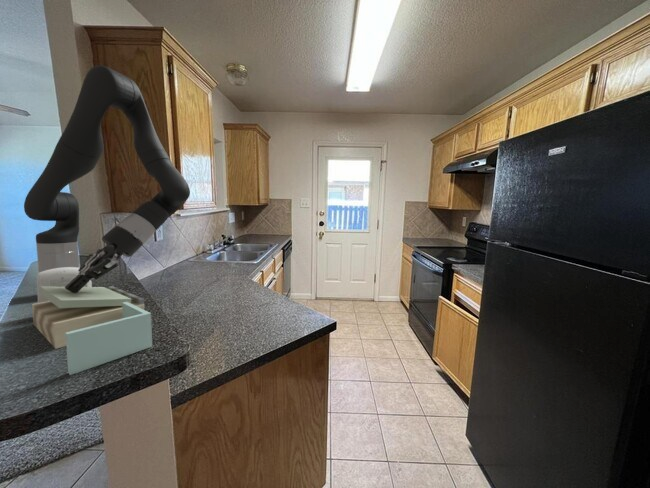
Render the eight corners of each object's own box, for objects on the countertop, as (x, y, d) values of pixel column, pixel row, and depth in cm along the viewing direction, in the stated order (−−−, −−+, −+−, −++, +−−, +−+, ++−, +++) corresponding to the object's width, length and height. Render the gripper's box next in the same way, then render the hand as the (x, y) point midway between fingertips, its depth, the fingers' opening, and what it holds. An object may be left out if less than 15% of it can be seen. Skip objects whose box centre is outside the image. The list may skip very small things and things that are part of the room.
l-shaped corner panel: (128, 334, 59) (126, 301, 58) (152, 349, 52) (150, 313, 51) (52, 356, 49) (49, 317, 48) (70, 378, 42) (67, 334, 42)
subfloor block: (33, 324, 61) (31, 299, 61) (113, 307, 74) (112, 286, 73) (55, 349, 50) (53, 317, 50) (145, 323, 63) (144, 298, 62)
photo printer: (94, 308, 73) (91, 264, 72) (91, 312, 70) (88, 267, 69) (42, 315, 68) (38, 267, 66) (36, 320, 64) (32, 270, 63)
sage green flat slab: (38, 292, 61) (40, 286, 61) (102, 292, 71) (103, 287, 71) (59, 308, 51) (61, 300, 51) (130, 305, 61) (131, 298, 61)
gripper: (107, 224, 69) (44, 277, 60) (128, 225, 62) (60, 286, 53) (131, 242, 74) (77, 295, 65) (154, 245, 67) (95, 304, 58)
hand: (69, 290), depth 59 cm, fingers closed
